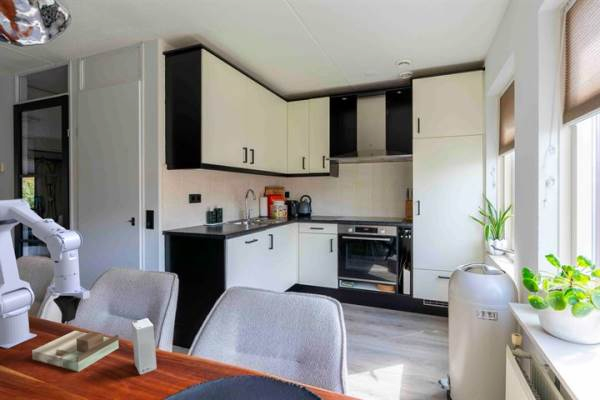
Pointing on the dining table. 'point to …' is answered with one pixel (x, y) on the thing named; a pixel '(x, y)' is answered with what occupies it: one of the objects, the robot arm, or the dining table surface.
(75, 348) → the box
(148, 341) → the skincare box
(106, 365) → the dining table surface
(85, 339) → the walnut block
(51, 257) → the robot arm
